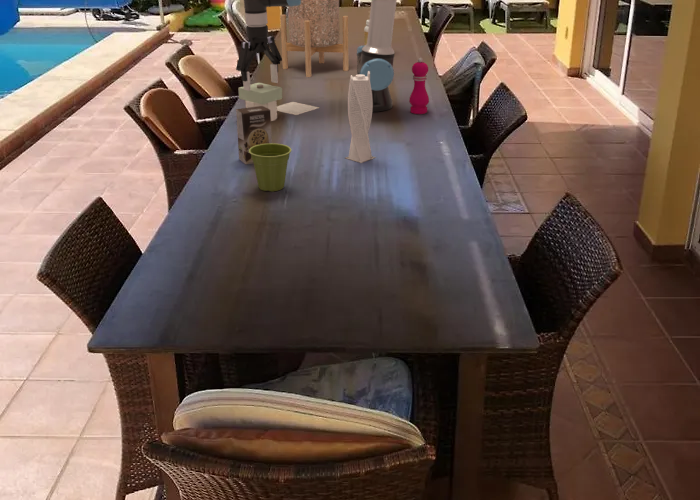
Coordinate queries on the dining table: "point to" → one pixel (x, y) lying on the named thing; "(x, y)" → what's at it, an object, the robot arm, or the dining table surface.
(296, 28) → the planter
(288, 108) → the mat
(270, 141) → the coffee box
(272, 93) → the lid
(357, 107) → the skyscraper
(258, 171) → the plant pot
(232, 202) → the dining table surface
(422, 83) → the pepper mill
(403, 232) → the dining table surface
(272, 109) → the bowl
